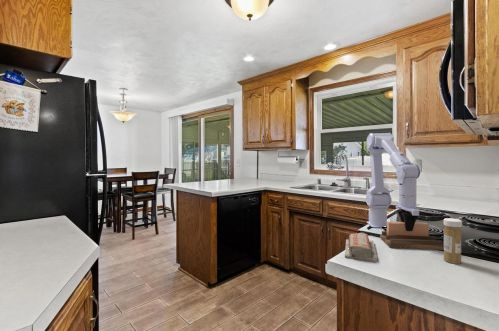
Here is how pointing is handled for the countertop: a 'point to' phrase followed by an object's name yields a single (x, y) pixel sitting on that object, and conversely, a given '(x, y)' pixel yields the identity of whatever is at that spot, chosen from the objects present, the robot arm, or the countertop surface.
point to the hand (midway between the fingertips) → (407, 229)
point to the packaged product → (360, 247)
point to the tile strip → (399, 229)
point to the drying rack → (411, 241)
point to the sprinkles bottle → (452, 240)
